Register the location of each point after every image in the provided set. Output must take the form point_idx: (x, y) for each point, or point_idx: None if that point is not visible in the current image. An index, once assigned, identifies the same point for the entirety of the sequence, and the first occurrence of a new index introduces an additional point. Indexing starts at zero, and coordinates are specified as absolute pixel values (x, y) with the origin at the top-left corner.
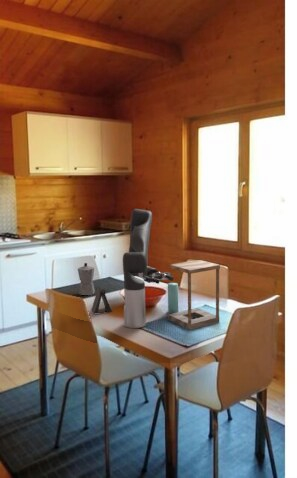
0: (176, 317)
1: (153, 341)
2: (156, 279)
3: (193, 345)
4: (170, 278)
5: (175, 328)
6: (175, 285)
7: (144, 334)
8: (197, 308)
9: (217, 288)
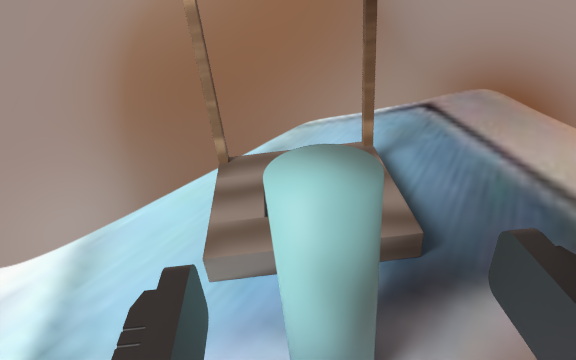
0: (393, 194)
1: (530, 134)
2: (564, 268)
3: (406, 106)
4: (193, 339)
5: (419, 179)
6: (318, 146)
7: (572, 172)
8: (209, 251)
9: (202, 33)
